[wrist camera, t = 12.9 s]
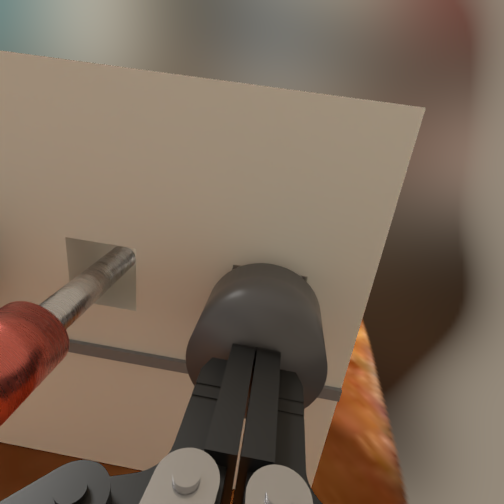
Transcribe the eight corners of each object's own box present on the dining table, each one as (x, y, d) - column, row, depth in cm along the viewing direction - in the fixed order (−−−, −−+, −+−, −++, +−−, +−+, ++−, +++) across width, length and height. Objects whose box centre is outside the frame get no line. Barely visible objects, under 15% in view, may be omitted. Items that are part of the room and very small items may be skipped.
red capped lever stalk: (100, 275, 17) (98, 229, 16) (147, 282, 17) (148, 237, 16) (-74, 421, 9) (-99, 347, 8) (14, 439, 9) (-2, 366, 8)
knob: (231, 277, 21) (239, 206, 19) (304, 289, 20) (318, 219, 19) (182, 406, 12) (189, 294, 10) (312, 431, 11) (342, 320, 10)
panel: (-75, 430, 20) (-218, 21, 12) (18, 350, 26) (-34, 53, 18) (306, 507, 18) (427, 107, 11) (303, 402, 25) (376, 109, 17)
